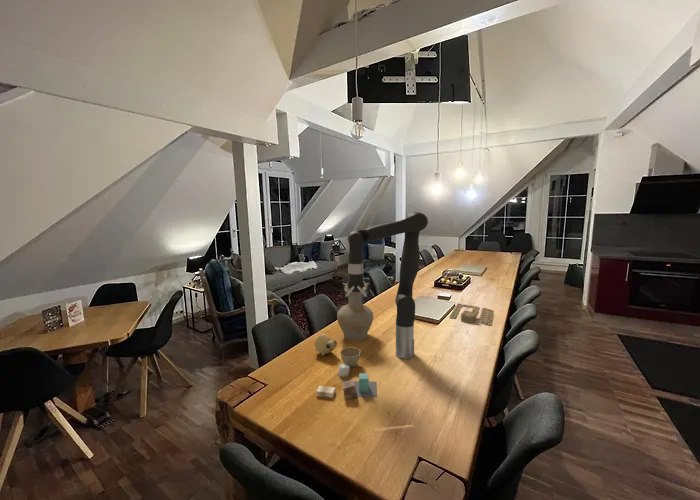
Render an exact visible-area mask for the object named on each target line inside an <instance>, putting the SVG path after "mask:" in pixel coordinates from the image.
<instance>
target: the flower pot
mask: <svg viewBox="0 0 700 500" xmlns="http://www.w3.org/2000/svg"><path fill="white" fill-rule="evenodd" d="M339 354H340V357H341V360H342V362H343V364H347V365H349V366H350V369H352V368H355V367H356V366H357V365H358V362H359V360H360V356H361V349H359V348H357V347H353V346H351V347H350V346H348V347H345V348H342V349H341V350H340V353H339Z"/></svg>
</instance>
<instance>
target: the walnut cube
mask: <svg viewBox="0 0 700 500" xmlns="http://www.w3.org/2000/svg"><path fill="white" fill-rule="evenodd" d="M354 381H355V380H354V378H352V379H348V380H345V381H342V382H341V387H342V390H343V395H344V399H345V400H350V399H354V398H358V397H357V393H356V388H355V384H354Z"/></svg>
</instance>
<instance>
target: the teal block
mask: <svg viewBox="0 0 700 500" xmlns="http://www.w3.org/2000/svg"><path fill="white" fill-rule="evenodd" d="M358 375H359V377H358V381H359V392H369V380H370V379H369V377H370V376H369V373H359V374H358Z"/></svg>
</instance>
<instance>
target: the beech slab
mask: <svg viewBox="0 0 700 500" xmlns="http://www.w3.org/2000/svg"><path fill="white" fill-rule="evenodd" d="M335 394H336V387H333V386H325V385H319V386H318V388H317V390H316V397H321V398H331V399H333V398H334V396H335Z"/></svg>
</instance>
